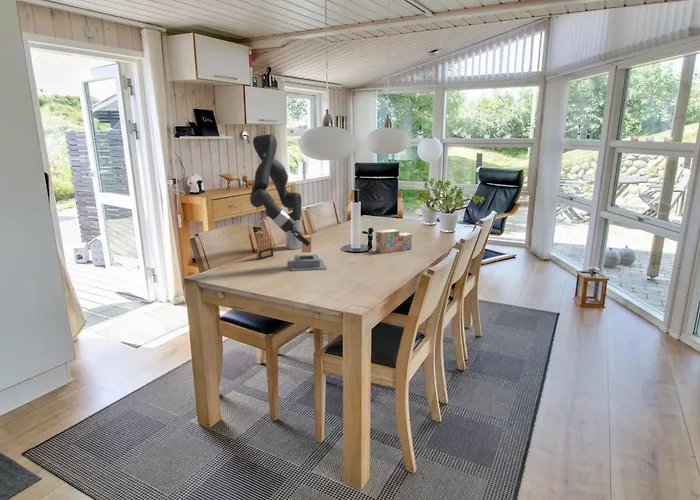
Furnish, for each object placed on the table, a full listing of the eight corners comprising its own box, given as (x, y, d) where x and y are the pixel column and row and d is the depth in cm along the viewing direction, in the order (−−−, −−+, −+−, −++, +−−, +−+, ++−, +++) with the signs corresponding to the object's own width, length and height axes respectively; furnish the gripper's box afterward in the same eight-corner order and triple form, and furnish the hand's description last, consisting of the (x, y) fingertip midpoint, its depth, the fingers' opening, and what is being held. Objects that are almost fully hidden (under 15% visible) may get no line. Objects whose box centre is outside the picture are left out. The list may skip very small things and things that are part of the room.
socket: (288, 261, 237) (288, 254, 236) (321, 260, 240) (321, 252, 239) (290, 271, 220) (290, 263, 219) (326, 269, 223) (326, 261, 222)
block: (301, 250, 230) (301, 235, 228) (310, 250, 231) (310, 235, 229) (302, 252, 226) (302, 237, 224) (311, 252, 226) (311, 237, 225)
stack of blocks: (405, 247, 271) (406, 227, 268) (411, 249, 266) (412, 229, 263) (375, 251, 261) (376, 230, 258) (381, 253, 256) (381, 232, 253)
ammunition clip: (259, 260, 240) (258, 238, 237) (256, 259, 241) (255, 238, 238) (273, 256, 248) (272, 235, 245) (271, 255, 249) (270, 234, 246)
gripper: (290, 218, 215) (314, 241, 221) (288, 213, 229) (311, 235, 234) (279, 229, 216) (304, 252, 221) (278, 223, 229) (301, 245, 234)
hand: (308, 243), depth 227 cm, fingers closed on block, 4 cm apart
